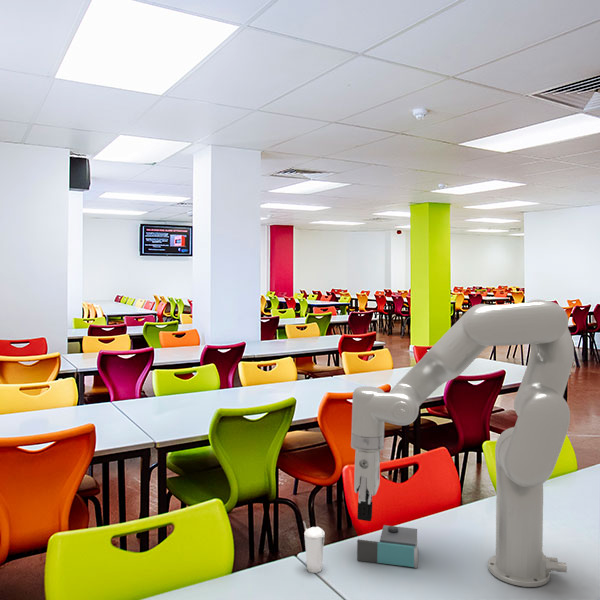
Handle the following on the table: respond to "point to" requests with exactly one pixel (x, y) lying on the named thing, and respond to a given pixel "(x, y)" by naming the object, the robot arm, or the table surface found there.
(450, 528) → the table surface
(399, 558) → the door
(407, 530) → the camera case
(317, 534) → the milkshake
